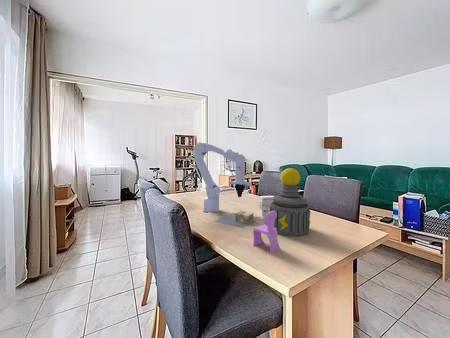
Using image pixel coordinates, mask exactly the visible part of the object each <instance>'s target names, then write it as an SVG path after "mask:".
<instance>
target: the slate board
mask: <svg viewBox="0 0 450 338" xmlns="http://www.w3.org/2000/svg"><path fill="white" fill-rule="evenodd" d="M236 213H237V212H231V213H229V214H226V215H224V216H222V217H220V218H218V219H215V220H213V223H218V224H223V225H228V226H232V227H236V228H242V229H245V228H246V227H248V226H249V225H251V224H253V223H254V222H256V221H257V220H259V219H261V216H260V217H259V216H254V215H253V221H252V222H250V223H243V222H238V221H236Z"/></svg>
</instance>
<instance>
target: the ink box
mask: <svg viewBox="0 0 450 338" xmlns="http://www.w3.org/2000/svg"><path fill="white" fill-rule="evenodd" d="M274 196H275V195H261V196H259V215H260V216H262V217H264V216H265V215H266V214H267V213H269V212H270V206H271V203H272V202H274V201H273V197H274Z"/></svg>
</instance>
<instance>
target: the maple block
mask: <svg viewBox="0 0 450 338" xmlns="http://www.w3.org/2000/svg"><path fill="white" fill-rule="evenodd" d="M235 213H236V221H238V222H243V223H250V222H252V221H253V216H254V213H253V212H250V211H249V212H248V211H243V210H240V211H238V212H235Z"/></svg>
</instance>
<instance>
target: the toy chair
mask: <svg viewBox="0 0 450 338" xmlns="http://www.w3.org/2000/svg"><path fill="white" fill-rule="evenodd" d="M276 217H277V212H276V211H271V212H269V213H267V214H266V215H265V216H263V224H261V225H259V226H254V228H253V230H252V233H253V242H252V243H253V244H252V245H253V247H254V246H257V245H259V244H261V243H264V240H263V236H262V234H264V235H266V236H267V239H268V241H269V253H273V252H275V251H277V250H278V249H280V245H279V241H278V233H277V228H274V221H275V218H276Z"/></svg>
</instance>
